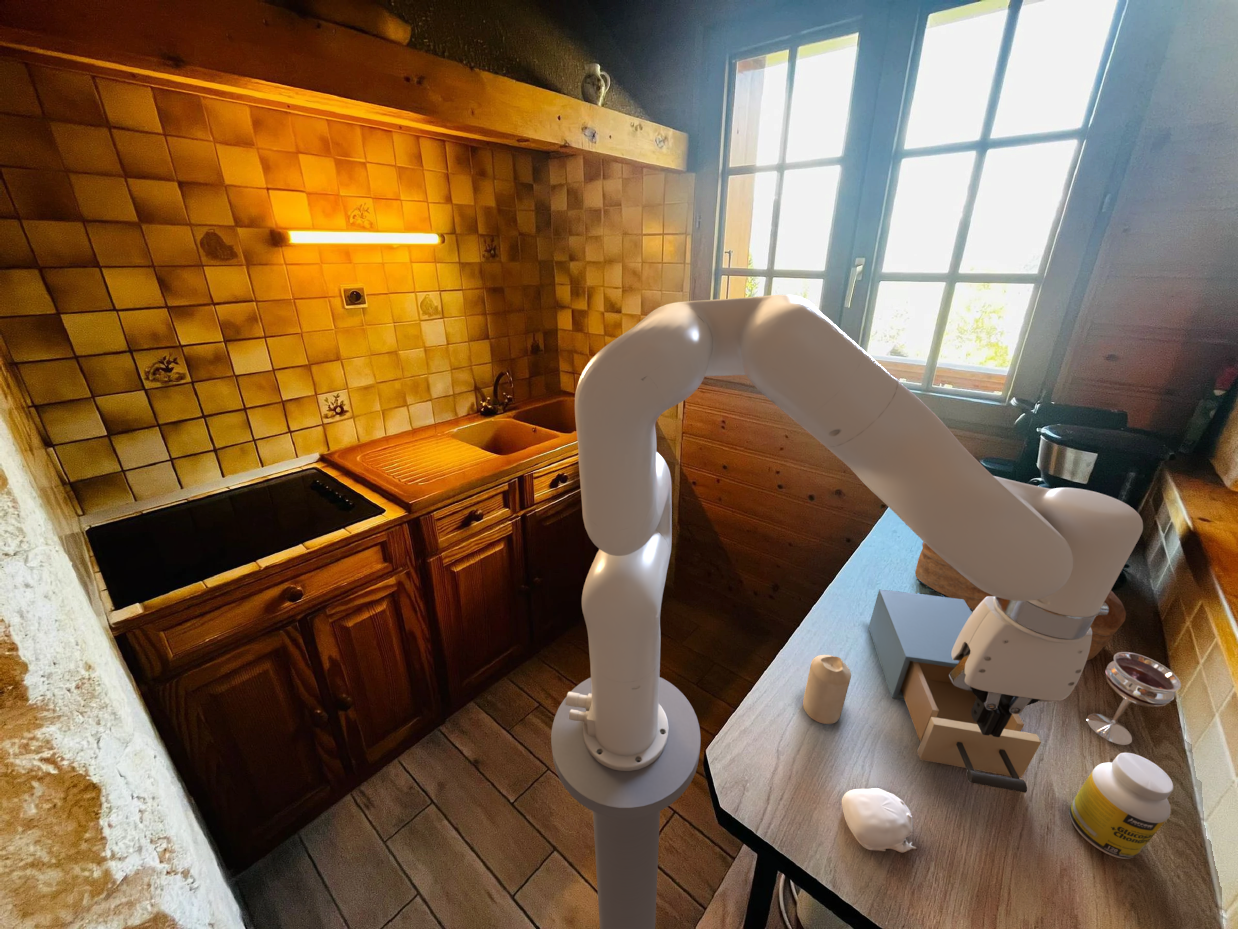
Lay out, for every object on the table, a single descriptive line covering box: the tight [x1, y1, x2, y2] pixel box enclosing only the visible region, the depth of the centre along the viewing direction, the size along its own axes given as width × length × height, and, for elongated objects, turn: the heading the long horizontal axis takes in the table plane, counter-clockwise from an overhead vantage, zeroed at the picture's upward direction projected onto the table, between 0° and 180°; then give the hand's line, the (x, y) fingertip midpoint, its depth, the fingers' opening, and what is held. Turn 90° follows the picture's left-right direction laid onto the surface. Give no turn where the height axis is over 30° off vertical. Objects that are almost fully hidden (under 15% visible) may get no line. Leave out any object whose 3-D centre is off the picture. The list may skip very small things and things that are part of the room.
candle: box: [802, 654, 852, 725], centre depth 74 cm, size 6×6×10 cm
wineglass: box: [1086, 651, 1182, 746], centre depth 70 cm, size 7×7×12 cm
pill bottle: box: [1068, 752, 1175, 860], centre depth 58 cm, size 6×6×12 cm
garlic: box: [841, 787, 917, 854], centre depth 60 cm, size 8×7×4 cm
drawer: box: [901, 661, 1042, 794], centre depth 69 cm, size 20×12×7 cm, turn 168°
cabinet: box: [868, 589, 973, 701], centre depth 81 cm, size 16×14×9 cm
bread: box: [915, 540, 1127, 661], centre depth 92 cm, size 12×31×14 cm, turn 35°
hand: (984, 725), depth 58 cm, fingers closed
